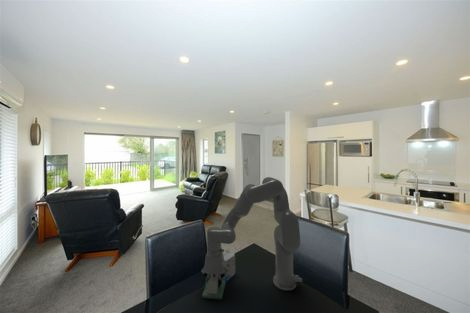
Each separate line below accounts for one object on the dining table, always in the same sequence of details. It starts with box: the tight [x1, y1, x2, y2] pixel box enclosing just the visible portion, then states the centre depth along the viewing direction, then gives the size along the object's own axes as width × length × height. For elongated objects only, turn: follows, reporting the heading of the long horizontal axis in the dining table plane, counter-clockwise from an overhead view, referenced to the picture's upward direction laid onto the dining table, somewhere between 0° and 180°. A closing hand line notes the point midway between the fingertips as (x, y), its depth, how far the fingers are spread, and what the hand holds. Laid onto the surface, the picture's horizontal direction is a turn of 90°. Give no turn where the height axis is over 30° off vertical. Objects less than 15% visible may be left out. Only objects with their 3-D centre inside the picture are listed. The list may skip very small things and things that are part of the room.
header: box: [201, 279, 227, 300], centre depth 91 cm, size 10×12×6 cm
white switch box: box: [207, 274, 219, 294], centre depth 91 cm, size 4×9×7 cm, turn 173°
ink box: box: [222, 249, 236, 282], centre depth 103 cm, size 9×8×13 cm
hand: (214, 285), depth 91 cm, fingers open, 4 cm apart
